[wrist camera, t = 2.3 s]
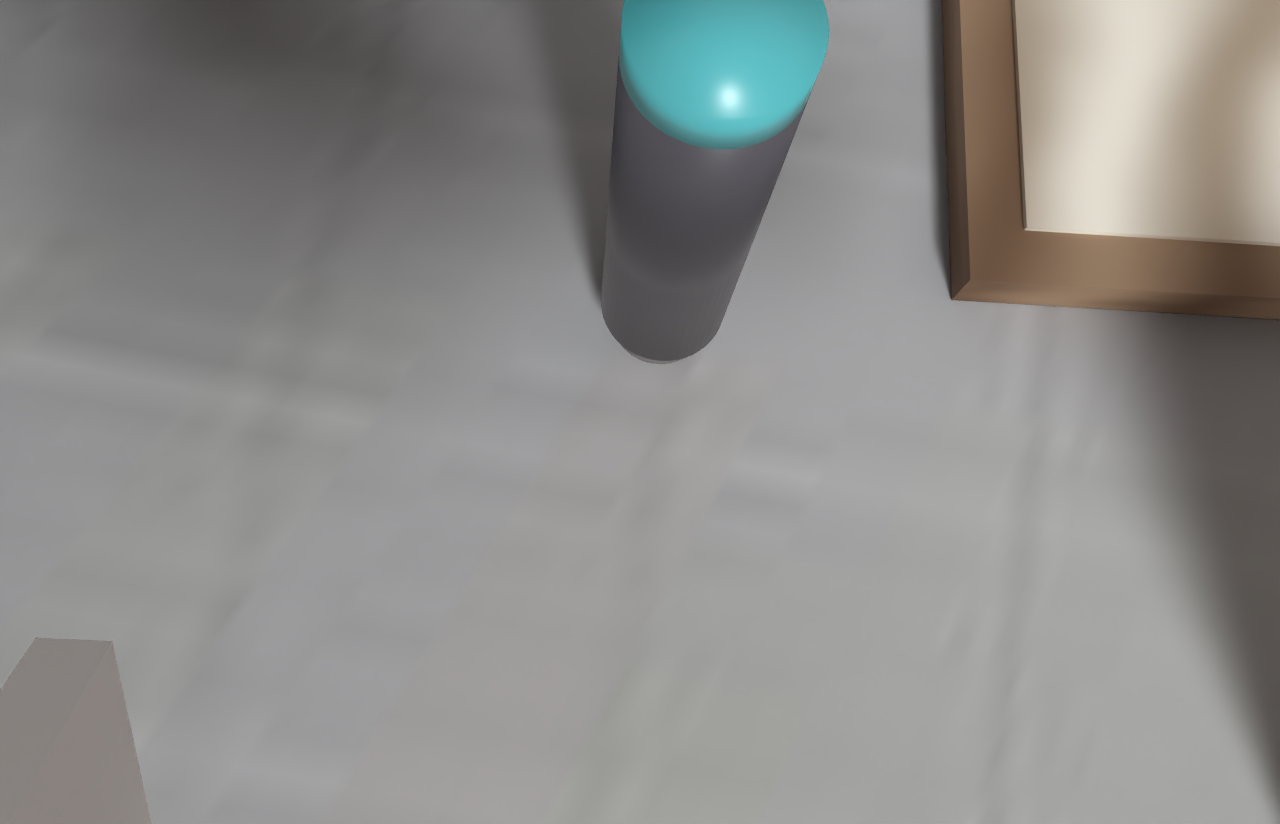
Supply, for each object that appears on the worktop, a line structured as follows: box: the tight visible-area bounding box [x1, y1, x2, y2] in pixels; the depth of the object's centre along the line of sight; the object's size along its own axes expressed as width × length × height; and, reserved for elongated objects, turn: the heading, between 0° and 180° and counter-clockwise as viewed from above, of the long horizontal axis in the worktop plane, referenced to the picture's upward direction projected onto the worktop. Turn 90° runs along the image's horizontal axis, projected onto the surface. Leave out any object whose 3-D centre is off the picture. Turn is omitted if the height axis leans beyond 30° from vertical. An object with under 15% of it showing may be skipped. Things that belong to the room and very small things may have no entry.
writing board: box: [942, 0, 1280, 319], centre depth 32 cm, size 16×16×2 cm
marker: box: [601, 0, 829, 364], centre depth 24 cm, size 3×3×13 cm
